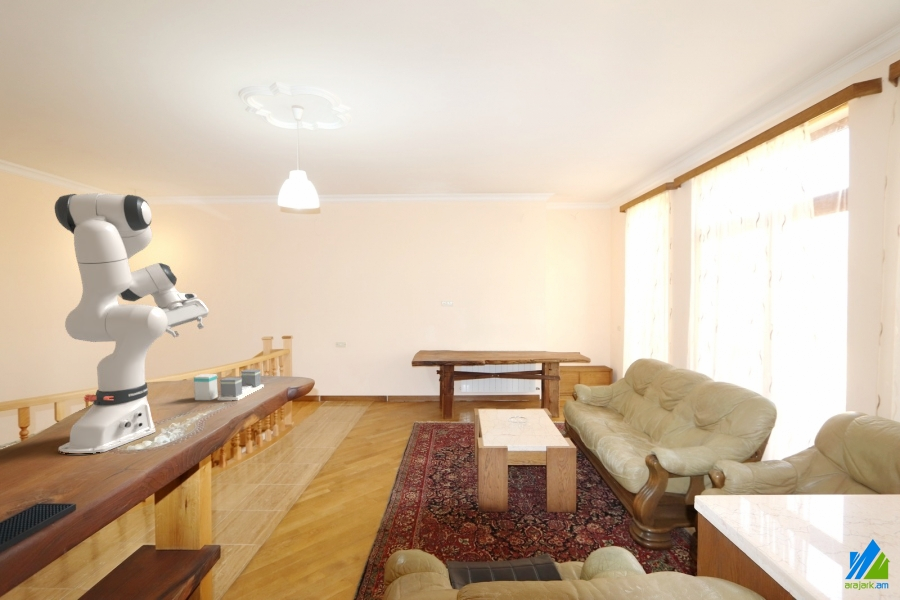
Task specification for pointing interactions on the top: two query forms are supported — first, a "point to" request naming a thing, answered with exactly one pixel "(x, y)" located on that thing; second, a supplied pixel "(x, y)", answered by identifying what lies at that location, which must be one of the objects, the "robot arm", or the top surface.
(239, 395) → the rail mount
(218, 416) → the top surface
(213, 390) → the block
